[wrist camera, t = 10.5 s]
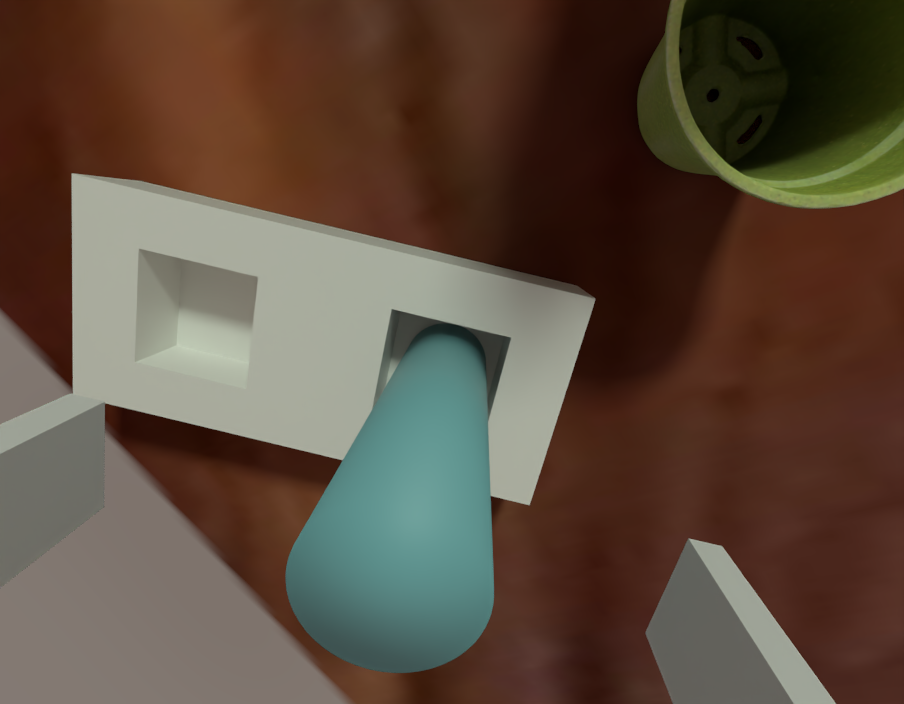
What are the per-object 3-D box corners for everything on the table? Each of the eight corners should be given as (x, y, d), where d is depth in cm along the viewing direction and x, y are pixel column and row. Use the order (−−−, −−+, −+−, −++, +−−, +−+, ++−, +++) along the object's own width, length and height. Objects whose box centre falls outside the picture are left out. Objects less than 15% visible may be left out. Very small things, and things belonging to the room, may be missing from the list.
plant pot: (712, 253, 22) (851, 273, 14) (552, 133, 21) (596, 77, 13) (870, 65, 20) (1155, -49, 11) (696, -80, 19) (867, -321, 10)
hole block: (141, 181, 23) (71, 173, 19) (577, 285, 23) (596, 299, 19) (134, 369, 26) (72, 395, 22) (522, 462, 26) (529, 505, 22)
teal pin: (415, 314, 23) (300, 476, 8) (494, 334, 23) (518, 528, 8) (399, 389, 24) (273, 646, 9) (475, 408, 24) (465, 692, 9)
